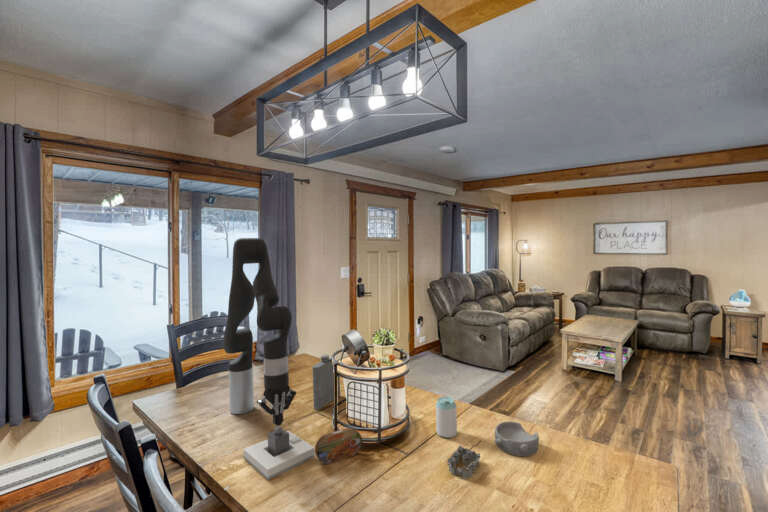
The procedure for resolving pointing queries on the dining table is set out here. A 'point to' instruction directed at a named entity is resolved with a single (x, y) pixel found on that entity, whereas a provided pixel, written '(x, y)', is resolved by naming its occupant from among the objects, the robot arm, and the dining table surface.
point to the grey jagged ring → (466, 458)
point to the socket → (282, 462)
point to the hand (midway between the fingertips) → (278, 424)
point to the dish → (515, 439)
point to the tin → (338, 445)
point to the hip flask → (323, 382)
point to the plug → (278, 441)
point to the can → (446, 417)
